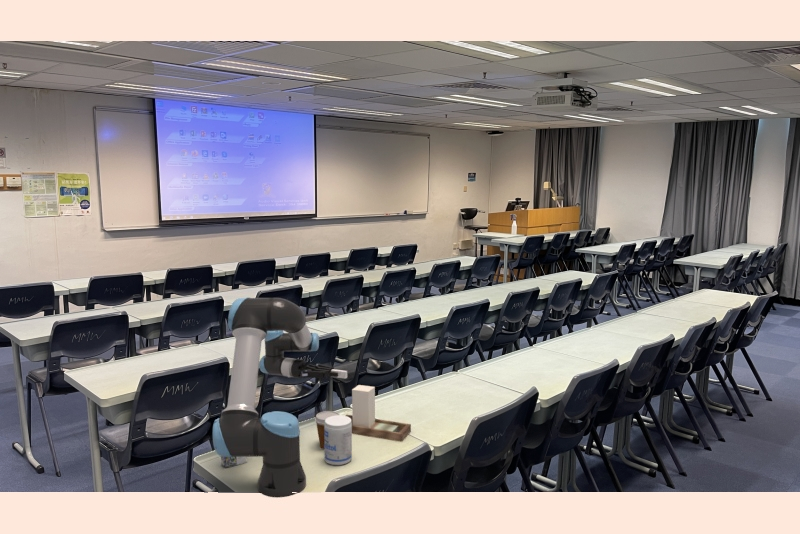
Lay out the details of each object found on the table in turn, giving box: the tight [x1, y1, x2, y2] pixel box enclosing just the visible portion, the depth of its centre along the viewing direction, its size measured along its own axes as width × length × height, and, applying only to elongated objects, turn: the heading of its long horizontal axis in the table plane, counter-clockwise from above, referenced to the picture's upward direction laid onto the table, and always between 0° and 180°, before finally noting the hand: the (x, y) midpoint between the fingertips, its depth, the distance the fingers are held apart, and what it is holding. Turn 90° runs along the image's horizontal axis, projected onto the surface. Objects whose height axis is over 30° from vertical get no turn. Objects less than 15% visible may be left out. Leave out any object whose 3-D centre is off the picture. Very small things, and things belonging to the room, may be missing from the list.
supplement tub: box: [323, 414, 353, 466], centre depth 203 cm, size 10×10×15 cm
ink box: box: [220, 456, 248, 469], centre depth 200 cm, size 4×8×15 cm, turn 124°
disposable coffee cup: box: [314, 410, 341, 450], centre depth 214 cm, size 10×10×12 cm
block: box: [351, 384, 376, 428], centre depth 229 cm, size 7×6×15 cm
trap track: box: [344, 414, 412, 442], centre depth 228 cm, size 28×10×3 cm, turn 69°
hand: (346, 374), depth 230 cm, fingers closed
